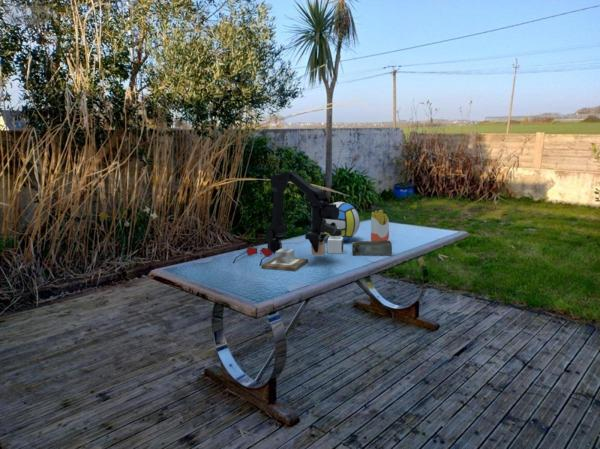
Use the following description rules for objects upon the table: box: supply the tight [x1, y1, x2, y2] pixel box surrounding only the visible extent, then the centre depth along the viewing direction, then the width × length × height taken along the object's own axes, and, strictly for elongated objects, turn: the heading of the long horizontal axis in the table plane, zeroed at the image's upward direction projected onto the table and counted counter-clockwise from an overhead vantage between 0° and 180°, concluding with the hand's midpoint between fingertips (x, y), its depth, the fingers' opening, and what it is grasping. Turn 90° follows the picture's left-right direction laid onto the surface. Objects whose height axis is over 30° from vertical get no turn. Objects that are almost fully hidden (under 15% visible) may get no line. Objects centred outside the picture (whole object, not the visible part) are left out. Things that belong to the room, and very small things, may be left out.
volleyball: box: [324, 201, 361, 242], centre depth 238 cm, size 22×22×22 cm
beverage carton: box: [351, 240, 393, 257], centre depth 208 cm, size 8×19×7 cm, turn 85°
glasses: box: [232, 246, 274, 266], centre depth 201 cm, size 14×16×5 cm
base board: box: [260, 248, 309, 272], centre depth 191 cm, size 16×16×7 cm
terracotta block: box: [310, 241, 326, 256], centre depth 196 cm, size 5×5×5 cm
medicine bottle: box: [327, 228, 344, 255], centre depth 213 cm, size 7×7×12 cm
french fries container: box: [370, 209, 390, 241], centre depth 229 cm, size 5×11×18 cm, turn 134°
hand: (318, 251), depth 196 cm, fingers closed on terracotta block, 5 cm apart
